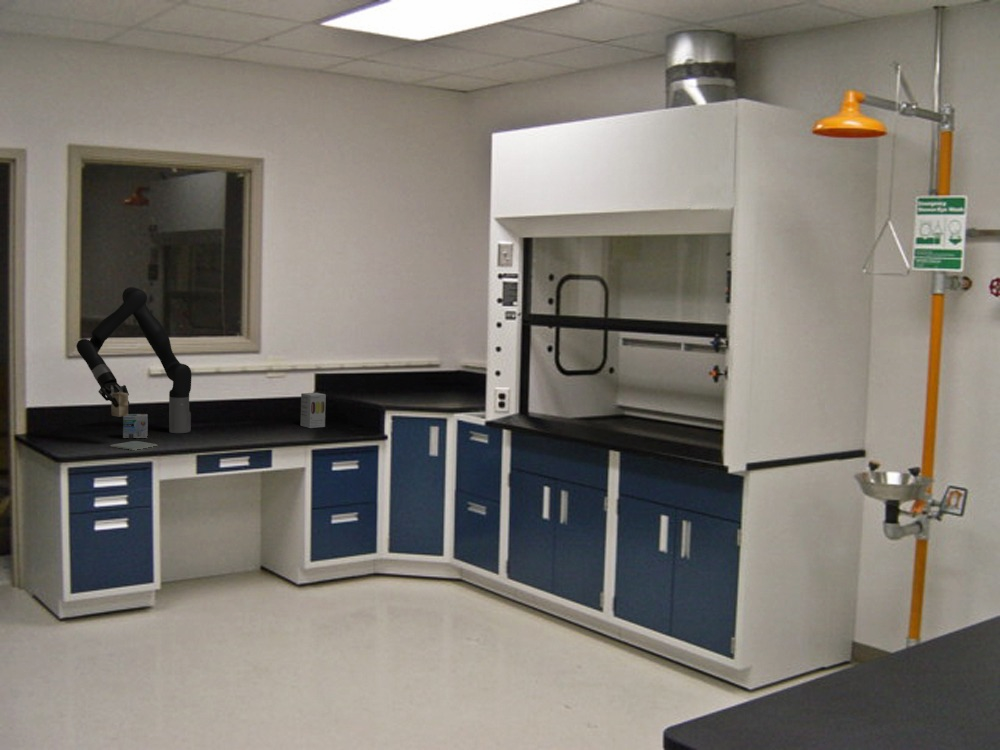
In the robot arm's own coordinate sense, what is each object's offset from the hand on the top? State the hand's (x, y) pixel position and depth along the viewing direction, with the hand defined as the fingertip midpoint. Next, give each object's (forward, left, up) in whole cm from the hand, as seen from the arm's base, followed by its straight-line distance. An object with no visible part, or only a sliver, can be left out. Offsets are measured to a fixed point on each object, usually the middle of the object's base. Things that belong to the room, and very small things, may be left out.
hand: (122, 405), depth 479 cm
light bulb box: (-16, -10, -18) cm, 26 cm away
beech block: (0, -2, -5) cm, 5 cm away
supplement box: (-96, +29, -18) cm, 102 cm away
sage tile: (0, +7, -18) cm, 19 cm away
